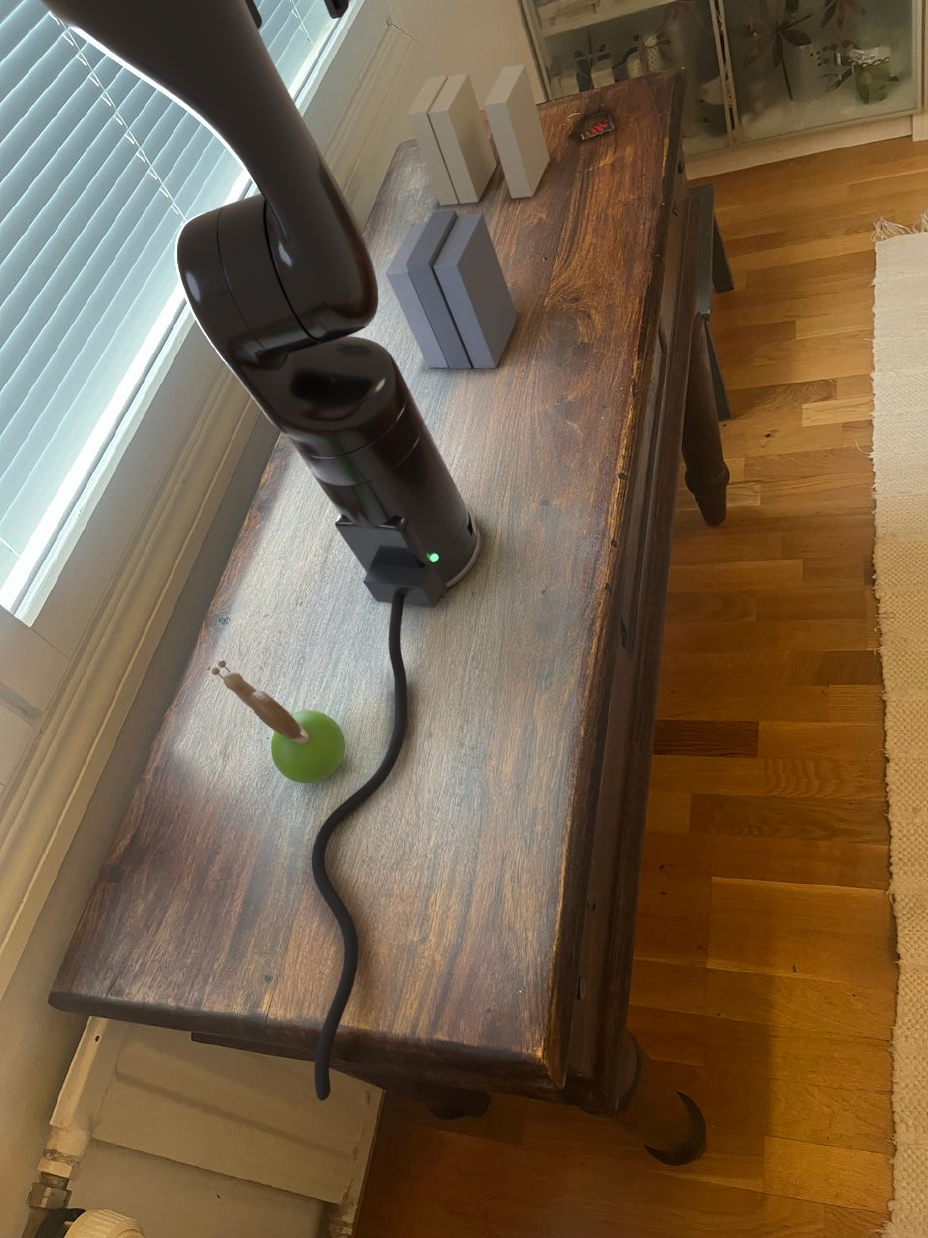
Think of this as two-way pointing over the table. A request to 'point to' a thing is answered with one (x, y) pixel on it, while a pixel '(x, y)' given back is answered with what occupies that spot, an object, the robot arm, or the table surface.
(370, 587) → the robot arm
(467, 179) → the cream books
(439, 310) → the grey books
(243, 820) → the table surface
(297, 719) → the snail figurine
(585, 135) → the black red flat piece
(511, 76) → the cream book
